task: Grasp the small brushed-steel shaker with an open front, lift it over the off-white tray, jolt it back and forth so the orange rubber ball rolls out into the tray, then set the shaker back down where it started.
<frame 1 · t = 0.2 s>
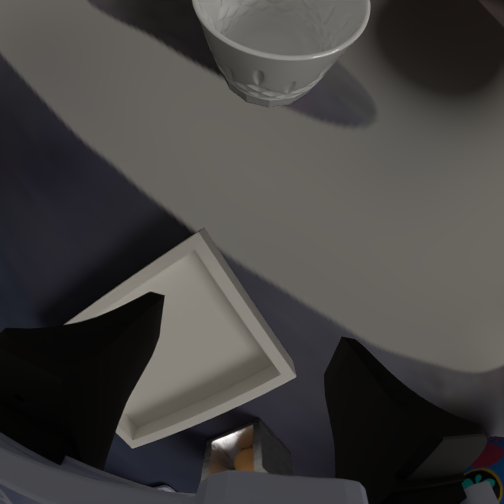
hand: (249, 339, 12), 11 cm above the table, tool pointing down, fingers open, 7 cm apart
shaker: (249, 447, 26), on the table, touching ball
tray: (163, 349, 24), on the table
white cup: (269, 65, 20), on the table
ceramic pot: (453, 464, 28), on the table
ball: (251, 463, 24), point 2 cm above the table, touching shaker
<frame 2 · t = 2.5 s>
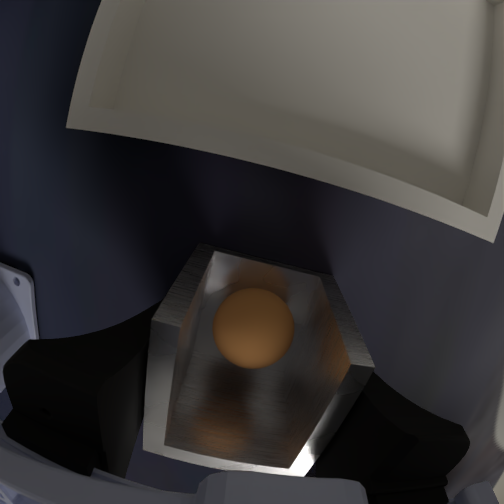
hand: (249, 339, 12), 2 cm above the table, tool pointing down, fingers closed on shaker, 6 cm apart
shaker: (250, 318, 14), on the table, touching ball, gripper
tray: (330, 27, 10), on the table
ball: (253, 328, 12), point 2 cm above the table, tilted 41°, touching shaker
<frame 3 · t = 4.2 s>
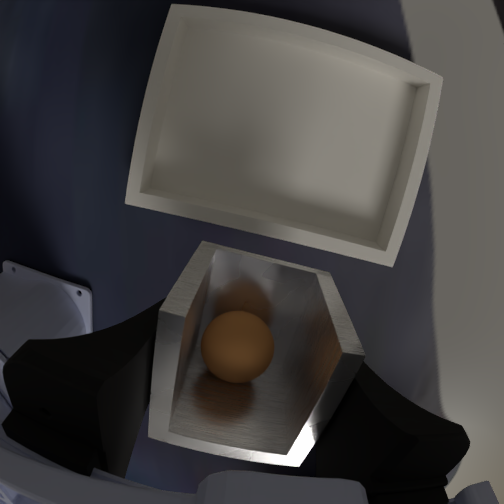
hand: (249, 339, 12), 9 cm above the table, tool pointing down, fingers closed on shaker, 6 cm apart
shaker: (251, 313, 15), point 7 cm above the table, touching ball, gripper
tray: (286, 129, 18), on the table
ball: (237, 346, 13), point 9 cm above the table, tilted 15°, touching shaker
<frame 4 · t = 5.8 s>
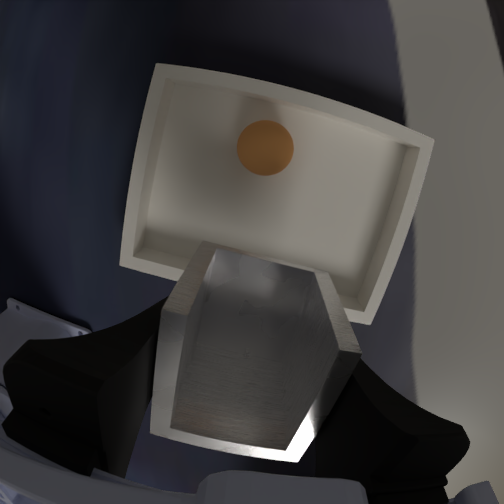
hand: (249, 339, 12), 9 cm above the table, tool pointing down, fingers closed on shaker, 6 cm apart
shaker: (250, 311, 15), point 6 cm above the table, touching gripper
tray: (272, 192, 19), on the table
ball: (265, 147, 16), point 2 cm above the table, tilted 76°, touching tray
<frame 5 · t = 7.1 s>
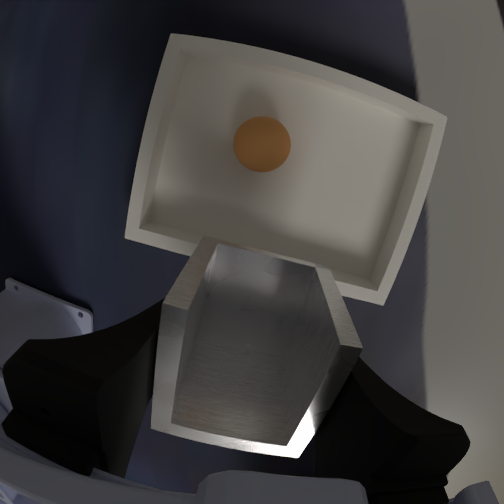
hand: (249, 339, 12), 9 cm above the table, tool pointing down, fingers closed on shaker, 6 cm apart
shaker: (251, 306, 15), point 6 cm above the table, touching gripper
tray: (285, 166, 19), on the table
ball: (262, 144, 16), point 2 cm above the table, tilted 140°, touching tray
when the fingers open (3 cm above the table, at t = 9.2 s): shaker stays where it is, on the table.
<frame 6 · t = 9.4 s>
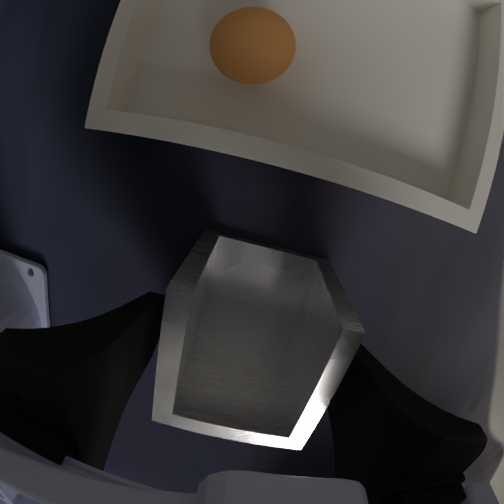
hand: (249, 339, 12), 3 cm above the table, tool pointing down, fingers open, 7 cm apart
shaker: (252, 300, 15), on the table
tray: (324, 36, 11), on the table
ball: (252, 45, 10), point 2 cm above the table, tilted 106°, touching tray
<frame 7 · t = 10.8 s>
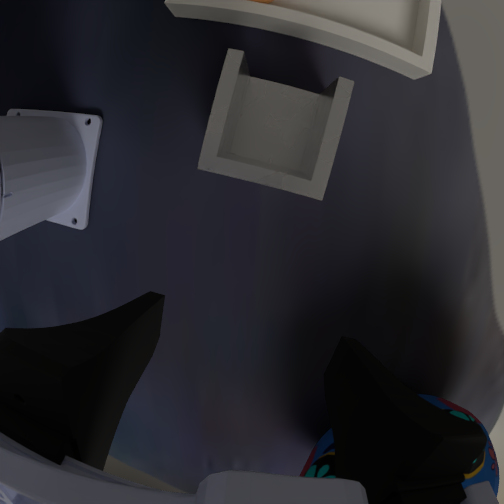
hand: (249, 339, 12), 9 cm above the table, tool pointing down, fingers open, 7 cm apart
shaker: (272, 128, 19), on the table
ceramic pot: (378, 425, 27), on the table
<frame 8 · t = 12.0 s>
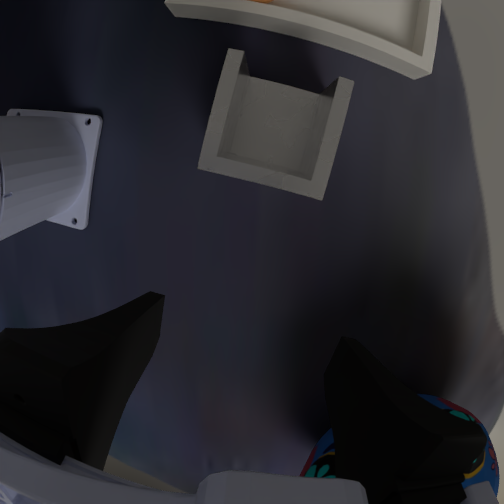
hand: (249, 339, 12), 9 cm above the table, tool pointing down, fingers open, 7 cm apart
shaker: (272, 128, 19), on the table
ceramic pot: (378, 425, 27), on the table
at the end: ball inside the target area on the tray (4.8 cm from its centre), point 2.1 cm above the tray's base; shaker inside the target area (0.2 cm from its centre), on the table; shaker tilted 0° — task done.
